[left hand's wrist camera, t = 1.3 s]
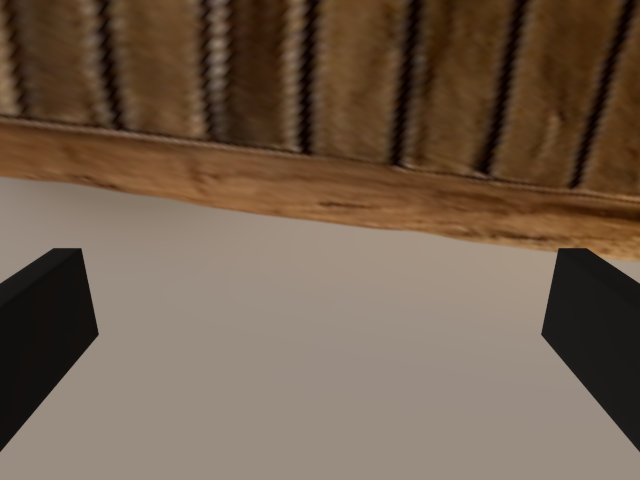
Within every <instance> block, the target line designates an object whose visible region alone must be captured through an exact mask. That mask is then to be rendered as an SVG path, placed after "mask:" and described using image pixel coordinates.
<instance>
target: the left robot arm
mask: <svg viewBox="0 0 640 480" xmlns="http://www.w3.org/2000/svg"><path fill="white" fill-rule="evenodd" d="M98 335H99V333H98V328H97V323H96V318H95V313H94V308H93V304H92V299H91V294H90V289H89V284H88V279H87V274H86V269H85V264H84V259H83V254H82V249H81V248H53V249H52V250H50V251H49V252H47V253H46V254H44V255H43V256H41V257H40V258H38V259H37V260H35V261H34V262H32V263H31V264H29V265H28V266H26V267H25V268H23V269H22V270H20V271H19V272H17V273H16V274H14V275H13V276H11V277H9V278H8V279H7V280H5V281H3V282H2V283H0V452H1V450H2V449H3V448H4V447H5V446H6V445H7V443H8V442H9V441H10V440H11V439H12V437H13V436H14V435H15V434H16V433H17V431H18V430H19V429H20V428H21V427H22V425H23V424H24V423H25V422H26V421H27V420H28V418H29V417H30V416H31V415H32V414H33V412H34V411H35V410H36V409H37V408H38V406H39V405H40V404H41V403H42V402H43V400H44V399H45V398H46V397H47V396H48V395H49V393H50V392H51V391H52V390H53V389H54V387H55V386H56V385H57V384H58V383H59V381H60V380H61V379H62V378H63V377H64V375H65V374H66V373H67V372H68V371H69V370H70V368H71V367H72V366H73V365H74V364H75V362H76V361H77V360H78V359H79V358H80V356H81V355H82V354H83V353H84V352H85V350H86V349H87V348H88V347H89V346H90V345H91V343H92V342H93V341H94V340H95V339H96V337H97V336H98ZM541 335H542V336H543V337H544V339H545V340H546V341H547V342H548V343H549V344H550V346H551V347H552V348H553V349H554V350H555V352H556V353H557V354H558V355H559V356H560V358H561V359H562V360H563V361H564V362H565V364H566V365H567V366H568V367H569V368H570V370H571V371H572V372H573V373H574V374H575V375H576V377H577V378H578V379H579V380H580V381H581V383H582V384H583V385H584V386H585V387H586V388H587V390H588V391H589V392H590V393H591V395H592V396H593V397H594V398H595V399H596V400H597V402H598V403H599V404H600V405H601V406H602V408H603V409H604V410H605V411H606V412H607V414H608V415H609V416H610V417H611V418H612V420H613V421H614V422H615V423H616V424H617V425H618V427H619V428H620V429H621V430H622V431H623V433H624V434H625V435H626V436H627V437H628V438H629V440H630V441H631V442H632V443H633V444H634V446H635V447H636V448H637V449H638V450H639V452H640V283H638V282H637V281H635V280H634V279H632V278H630V277H629V276H627V275H626V274H624V273H623V272H621V271H620V270H618V269H617V268H615V267H614V266H612V265H611V264H609V263H608V262H606V261H605V260H603V259H602V258H600V257H599V256H597V255H596V254H594V253H593V252H591V251H590V250H588V249H587V248H559V249H558V254H557V259H556V264H555V269H554V274H553V279H552V284H551V289H550V294H549V299H548V304H547V308H546V313H545V318H544V323H543V328H542V333H541Z"/></svg>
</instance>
